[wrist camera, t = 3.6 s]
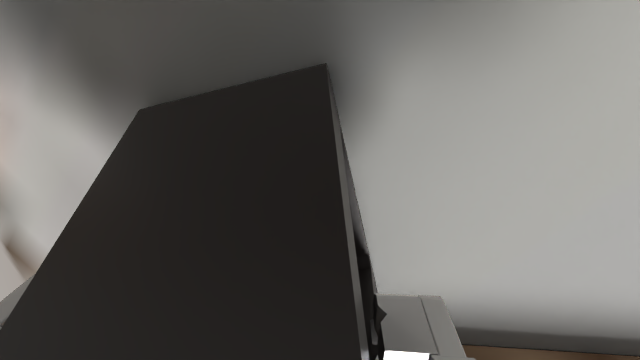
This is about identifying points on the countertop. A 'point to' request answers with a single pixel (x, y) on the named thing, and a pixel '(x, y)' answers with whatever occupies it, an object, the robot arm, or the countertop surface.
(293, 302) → the phone stand
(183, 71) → the countertop surface
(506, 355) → the socket board
